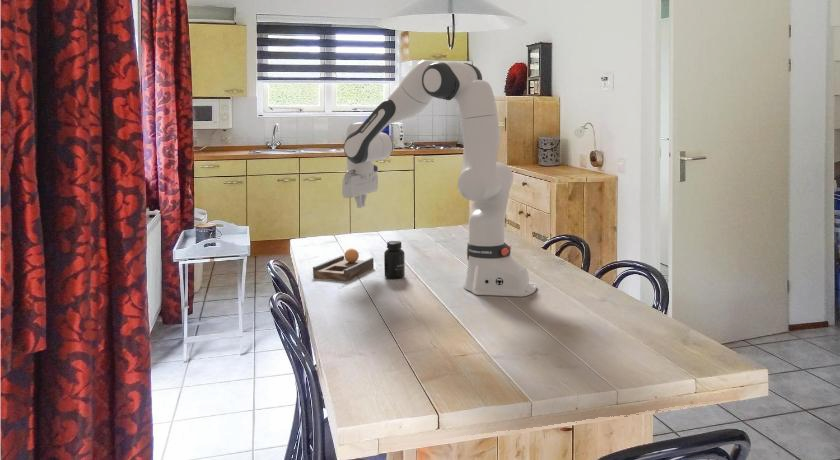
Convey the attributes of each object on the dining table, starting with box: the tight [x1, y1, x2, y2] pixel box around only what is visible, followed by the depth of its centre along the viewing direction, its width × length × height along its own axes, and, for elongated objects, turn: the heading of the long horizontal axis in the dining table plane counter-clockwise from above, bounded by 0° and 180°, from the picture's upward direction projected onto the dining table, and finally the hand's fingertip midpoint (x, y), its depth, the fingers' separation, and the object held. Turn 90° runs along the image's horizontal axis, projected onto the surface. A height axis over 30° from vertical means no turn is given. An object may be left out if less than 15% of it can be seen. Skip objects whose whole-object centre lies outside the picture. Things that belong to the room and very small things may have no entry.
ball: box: [344, 248, 360, 263], centre depth 236 cm, size 5×5×5 cm
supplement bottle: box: [383, 240, 406, 280], centre depth 225 cm, size 7×7×12 cm
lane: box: [312, 255, 375, 282], centre depth 232 cm, size 13×19×4 cm
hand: (361, 207), depth 241 cm, fingers closed
